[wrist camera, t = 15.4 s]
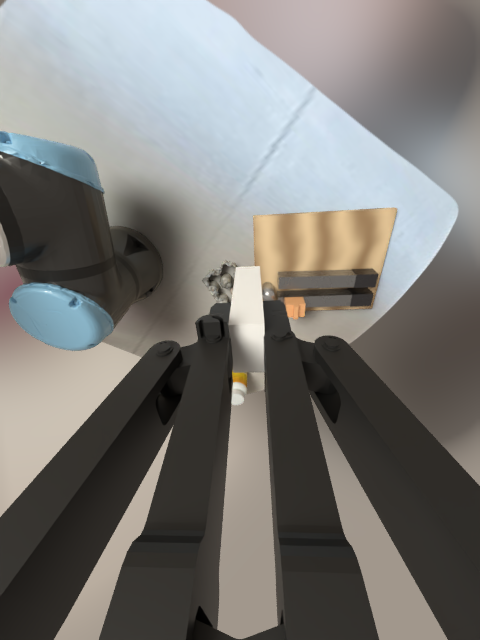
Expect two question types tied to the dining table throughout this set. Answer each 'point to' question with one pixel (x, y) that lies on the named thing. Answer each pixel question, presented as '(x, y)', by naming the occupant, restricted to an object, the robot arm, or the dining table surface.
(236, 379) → the supplement bottle
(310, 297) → the tongs fixed
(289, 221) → the board
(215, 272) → the grey lumpy stone piece
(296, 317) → the tab
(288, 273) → the bar
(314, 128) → the dining table surface
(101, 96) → the dining table surface
